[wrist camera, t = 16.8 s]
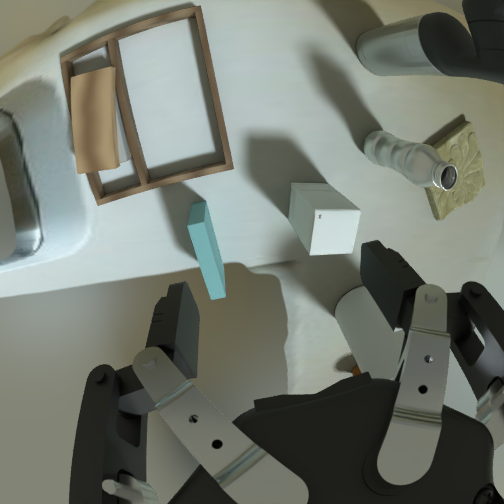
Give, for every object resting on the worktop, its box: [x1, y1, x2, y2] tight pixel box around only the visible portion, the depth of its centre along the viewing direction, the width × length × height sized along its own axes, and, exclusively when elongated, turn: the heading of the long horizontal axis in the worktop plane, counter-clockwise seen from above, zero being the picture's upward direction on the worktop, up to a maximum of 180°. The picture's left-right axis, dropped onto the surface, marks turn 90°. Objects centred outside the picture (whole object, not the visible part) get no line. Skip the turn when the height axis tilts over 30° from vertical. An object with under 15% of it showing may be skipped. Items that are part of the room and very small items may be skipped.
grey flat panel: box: [90, 86, 131, 173], centre depth 34 cm, size 7×16×2 cm, turn 7°
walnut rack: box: [60, 5, 234, 206], centre depth 35 cm, size 24×28×2 cm
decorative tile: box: [425, 121, 485, 220], centre depth 46 cm, size 18×20×4 cm
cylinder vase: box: [335, 286, 405, 380], centre depth 52 cm, size 12×12×25 cm
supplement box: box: [288, 183, 361, 255], centre depth 42 cm, size 7×7×13 cm
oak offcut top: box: [71, 66, 120, 174], centre depth 32 cm, size 7×16×2 cm, turn 179°
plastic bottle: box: [364, 131, 458, 190], centre depth 35 cm, size 6×7×20 cm
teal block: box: [187, 201, 226, 300], centre depth 45 cm, size 2×14×9 cm, turn 10°
